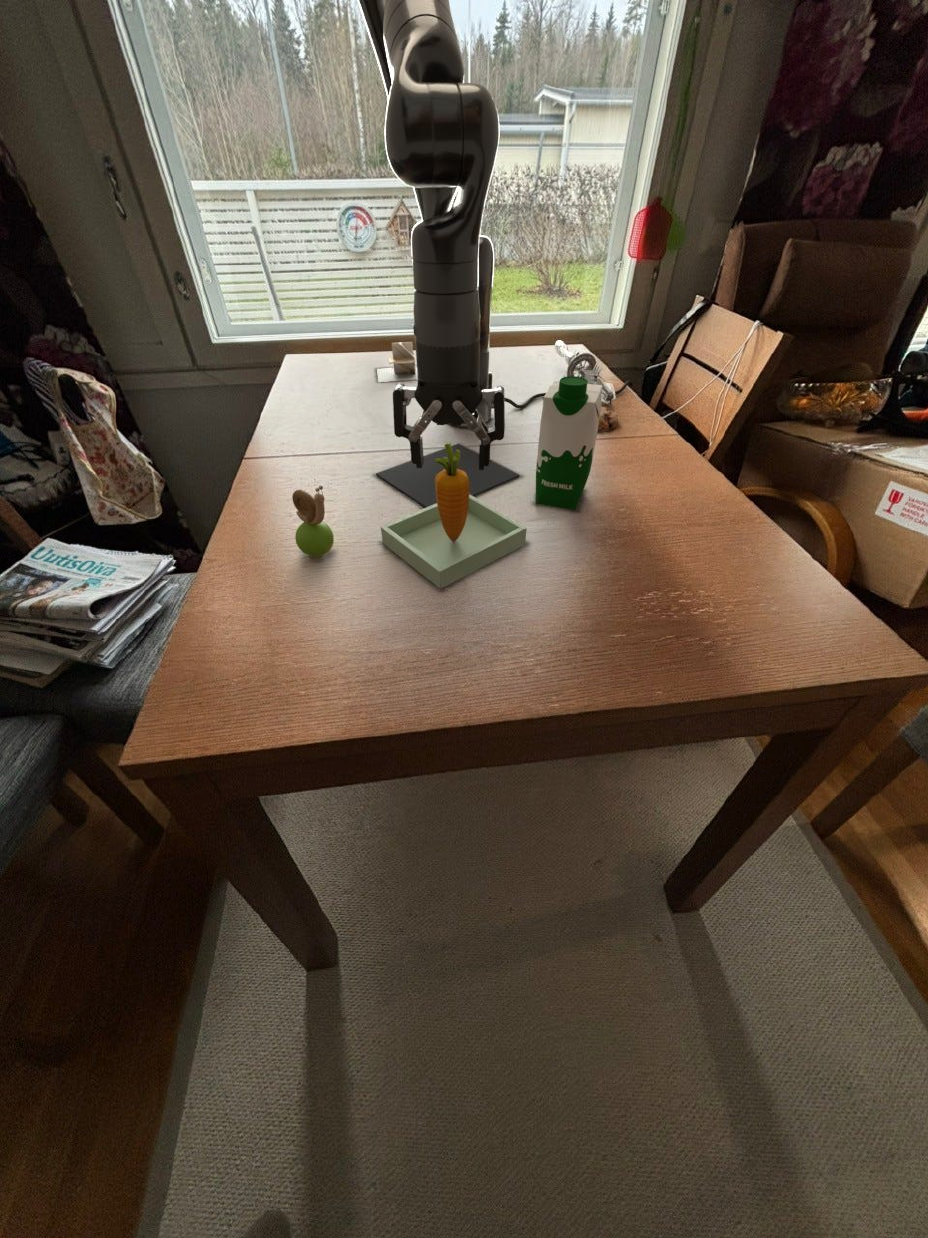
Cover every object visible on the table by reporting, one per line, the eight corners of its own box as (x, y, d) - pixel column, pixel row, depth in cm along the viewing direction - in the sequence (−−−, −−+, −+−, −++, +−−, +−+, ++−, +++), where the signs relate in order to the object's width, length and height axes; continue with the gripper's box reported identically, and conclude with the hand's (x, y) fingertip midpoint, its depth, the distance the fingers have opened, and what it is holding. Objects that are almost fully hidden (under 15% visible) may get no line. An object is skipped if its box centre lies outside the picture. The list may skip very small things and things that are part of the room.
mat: (458, 445, 104) (458, 443, 103) (519, 476, 93) (519, 474, 93) (376, 475, 94) (375, 473, 94) (434, 513, 84) (433, 511, 84)
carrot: (466, 552, 75) (465, 456, 65) (434, 548, 76) (428, 453, 66) (472, 533, 79) (472, 440, 68) (441, 530, 79) (437, 438, 69)
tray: (464, 507, 86) (464, 491, 84) (525, 544, 77) (526, 527, 75) (382, 543, 78) (380, 526, 76) (440, 589, 70) (439, 571, 68)
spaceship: (574, 332, 137) (550, 322, 133) (634, 389, 114) (608, 378, 111) (559, 361, 142) (536, 352, 138) (614, 421, 119) (588, 412, 116)
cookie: (582, 411, 116) (584, 397, 114) (625, 421, 112) (628, 407, 110) (562, 425, 111) (564, 411, 108) (607, 436, 106) (610, 422, 104)
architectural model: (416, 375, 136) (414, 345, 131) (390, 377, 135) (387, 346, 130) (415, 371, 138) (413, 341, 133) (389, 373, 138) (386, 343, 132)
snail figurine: (323, 570, 73) (305, 496, 65) (292, 556, 76) (270, 483, 67) (349, 551, 76) (334, 478, 68) (318, 539, 79) (300, 467, 71)
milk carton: (529, 506, 86) (540, 382, 72) (540, 481, 92) (553, 363, 78) (580, 514, 84) (602, 389, 70) (589, 488, 90) (610, 369, 76)
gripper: (510, 327, 60) (503, 456, 71) (392, 325, 61) (404, 453, 72) (508, 344, 55) (501, 481, 66) (379, 342, 56) (394, 477, 67)
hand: (450, 466), depth 69 cm, fingers open, 8 cm apart
